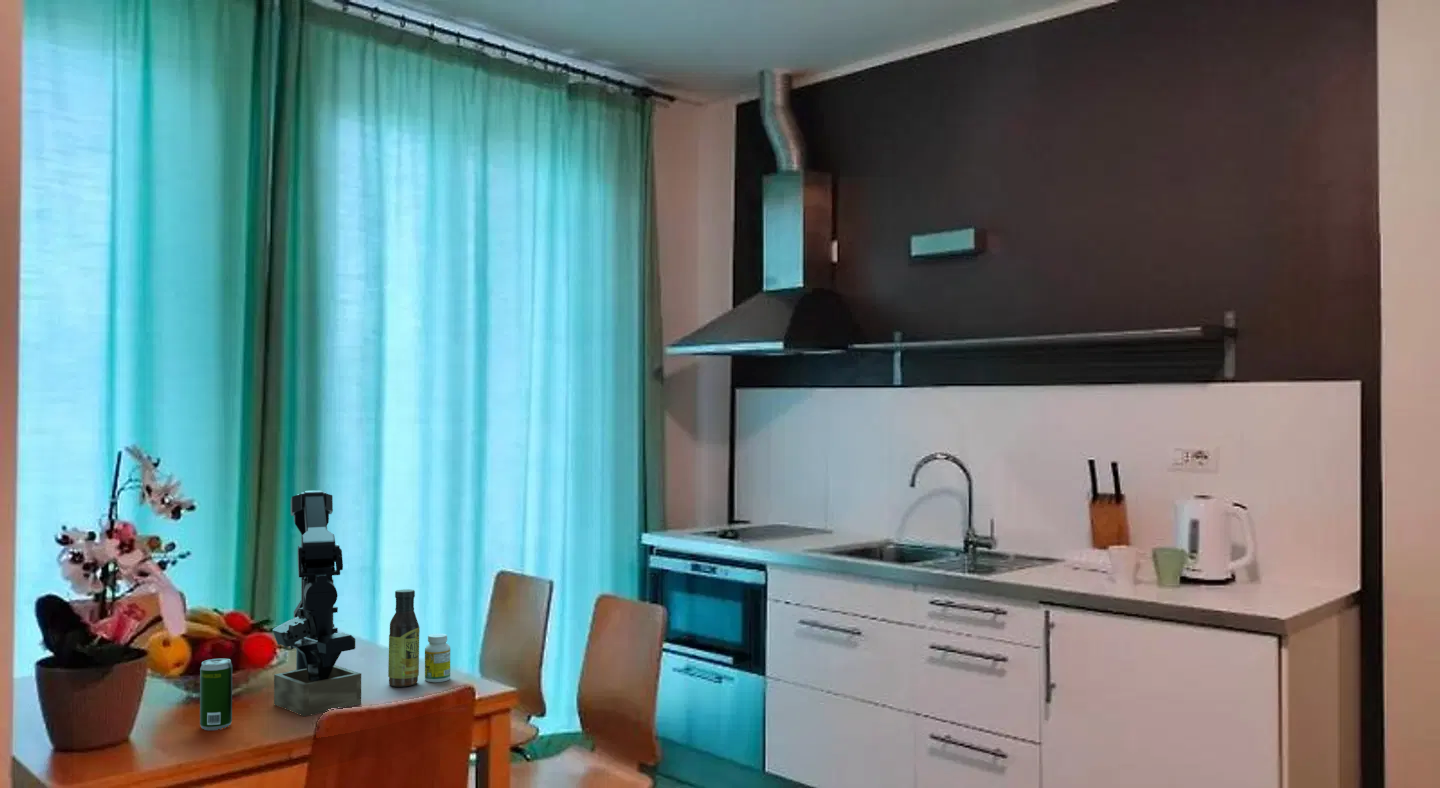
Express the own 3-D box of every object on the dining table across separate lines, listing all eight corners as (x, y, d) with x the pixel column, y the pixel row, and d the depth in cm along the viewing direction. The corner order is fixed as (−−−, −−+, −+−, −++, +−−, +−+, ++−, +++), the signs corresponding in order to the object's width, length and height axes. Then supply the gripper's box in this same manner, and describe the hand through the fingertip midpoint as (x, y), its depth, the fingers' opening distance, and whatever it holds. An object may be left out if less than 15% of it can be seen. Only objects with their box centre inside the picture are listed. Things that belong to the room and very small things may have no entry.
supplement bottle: (452, 681, 236) (452, 636, 236) (426, 683, 234) (426, 638, 234) (448, 675, 241) (448, 631, 241) (423, 677, 239) (423, 633, 239)
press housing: (274, 704, 218) (274, 674, 218) (330, 692, 227) (330, 663, 227) (303, 716, 210) (304, 685, 210) (361, 703, 219) (361, 673, 219)
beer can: (232, 728, 202) (232, 663, 202) (200, 732, 200) (200, 666, 200) (231, 720, 207) (231, 657, 207) (199, 724, 205) (200, 659, 205)
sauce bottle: (410, 688, 230) (410, 593, 230) (382, 687, 231) (382, 592, 231) (424, 681, 236) (424, 588, 236) (397, 679, 238) (398, 587, 238)
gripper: (256, 602, 219) (256, 681, 218) (302, 614, 206) (302, 698, 206) (309, 594, 227) (309, 670, 227) (357, 606, 214) (356, 686, 214)
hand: (317, 681), depth 218 cm, fingers closed on plunger, 4 cm apart
